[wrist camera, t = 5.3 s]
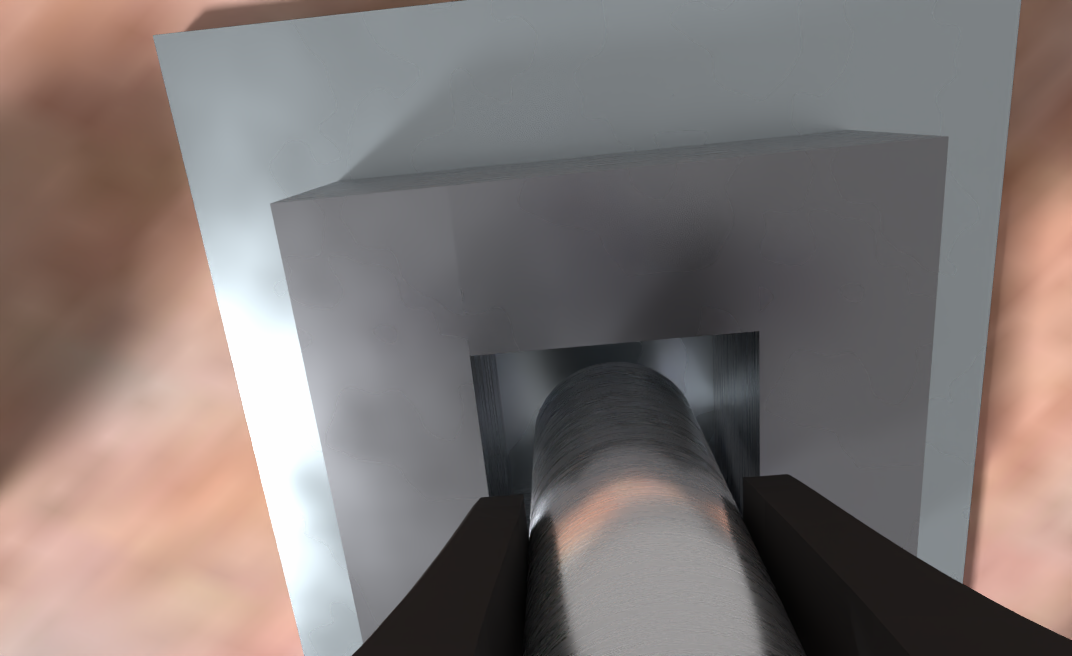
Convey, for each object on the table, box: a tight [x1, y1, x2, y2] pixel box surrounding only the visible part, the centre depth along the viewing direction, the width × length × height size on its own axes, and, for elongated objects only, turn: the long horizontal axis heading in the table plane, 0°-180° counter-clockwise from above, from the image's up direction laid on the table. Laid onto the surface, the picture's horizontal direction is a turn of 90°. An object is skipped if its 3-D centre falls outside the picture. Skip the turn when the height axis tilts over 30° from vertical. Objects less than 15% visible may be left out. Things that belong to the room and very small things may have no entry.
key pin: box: [523, 362, 806, 656], centre depth 10 cm, size 3×3×7 cm
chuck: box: [153, 0, 1021, 656], centre depth 14 cm, size 18×16×4 cm
